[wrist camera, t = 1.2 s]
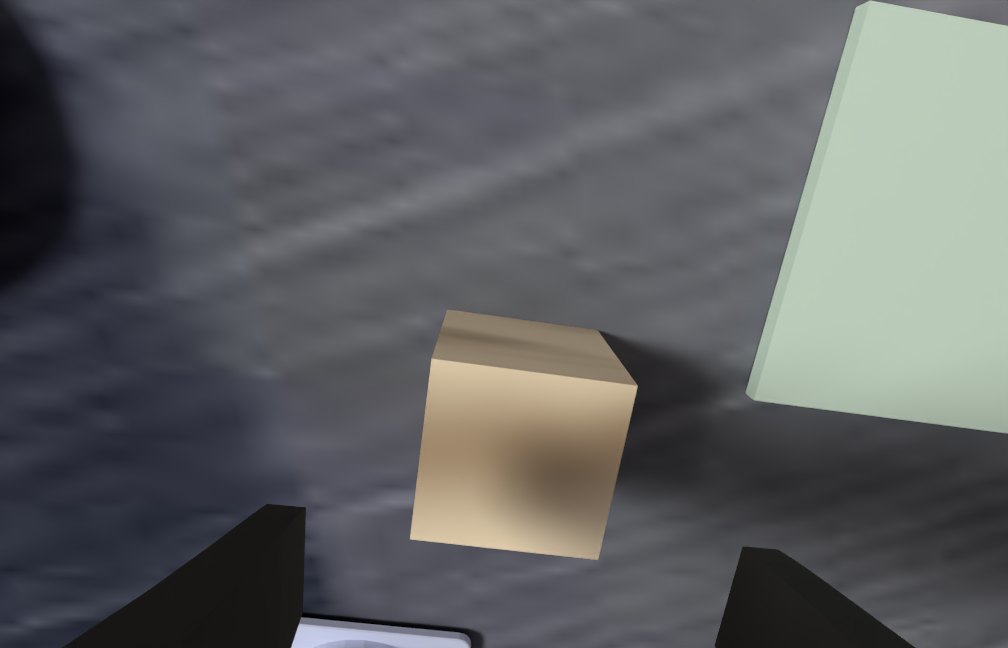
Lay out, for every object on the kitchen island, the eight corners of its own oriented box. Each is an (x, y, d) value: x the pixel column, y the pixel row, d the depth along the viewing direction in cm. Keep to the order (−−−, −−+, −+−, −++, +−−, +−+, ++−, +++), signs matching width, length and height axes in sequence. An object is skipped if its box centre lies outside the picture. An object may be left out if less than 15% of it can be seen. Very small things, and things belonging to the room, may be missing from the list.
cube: (570, 462, 19) (597, 559, 14) (430, 445, 19) (410, 539, 14) (597, 329, 18) (637, 386, 13) (447, 309, 17) (431, 358, 12)
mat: (1064, 435, 19) (1083, 443, 18) (745, 393, 18) (753, 400, 18) (1231, 76, 16) (1259, 72, 15) (855, 7, 15) (870, 0, 15)
